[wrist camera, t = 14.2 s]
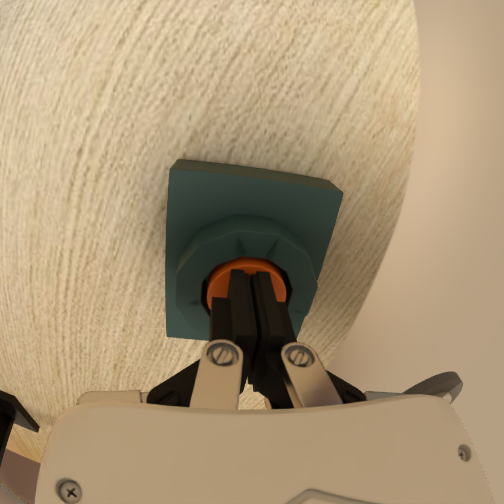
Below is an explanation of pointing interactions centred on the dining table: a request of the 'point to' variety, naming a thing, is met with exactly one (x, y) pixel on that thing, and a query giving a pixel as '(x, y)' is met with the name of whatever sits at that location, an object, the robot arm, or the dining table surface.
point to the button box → (242, 235)
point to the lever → (12, 493)
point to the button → (250, 265)
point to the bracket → (12, 419)
